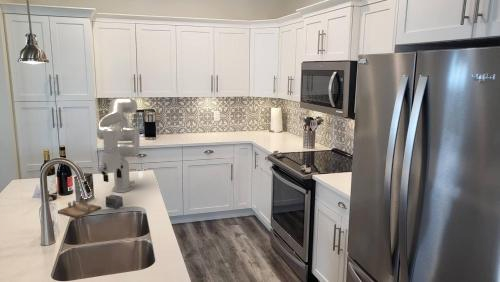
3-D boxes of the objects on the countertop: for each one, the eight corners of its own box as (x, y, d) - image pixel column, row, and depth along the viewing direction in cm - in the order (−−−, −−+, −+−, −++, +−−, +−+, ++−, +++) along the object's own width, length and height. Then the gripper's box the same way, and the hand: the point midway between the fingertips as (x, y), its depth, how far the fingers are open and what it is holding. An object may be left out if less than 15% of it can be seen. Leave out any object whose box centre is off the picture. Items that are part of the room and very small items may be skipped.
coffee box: (85, 197, 227) (83, 172, 224) (94, 198, 226) (93, 173, 223) (75, 202, 218) (73, 176, 215) (85, 203, 217) (83, 177, 214)
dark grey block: (112, 204, 217) (112, 194, 216) (122, 206, 213) (122, 196, 212) (106, 206, 212) (105, 197, 211) (116, 209, 209) (115, 199, 208)
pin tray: (81, 203, 216) (81, 197, 215) (101, 208, 209) (100, 201, 208) (57, 212, 202) (56, 205, 201) (77, 218, 195) (76, 210, 194)
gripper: (117, 147, 216) (119, 175, 218) (93, 152, 200) (95, 182, 203) (127, 148, 212) (128, 176, 215) (103, 153, 197) (105, 184, 200)
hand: (112, 179), depth 209 cm, fingers open, 9 cm apart
